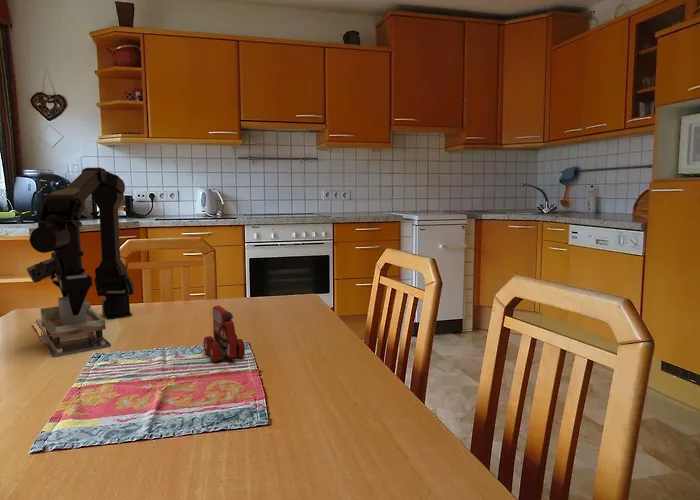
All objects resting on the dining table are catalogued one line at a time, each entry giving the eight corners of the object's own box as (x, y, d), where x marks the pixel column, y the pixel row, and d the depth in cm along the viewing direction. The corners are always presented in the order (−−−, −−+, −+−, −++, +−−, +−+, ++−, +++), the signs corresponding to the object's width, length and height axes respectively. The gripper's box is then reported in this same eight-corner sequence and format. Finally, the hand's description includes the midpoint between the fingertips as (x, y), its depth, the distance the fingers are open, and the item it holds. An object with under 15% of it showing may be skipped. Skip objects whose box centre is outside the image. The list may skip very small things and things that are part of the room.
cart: (91, 325, 137) (89, 302, 136) (106, 339, 125) (104, 313, 124) (42, 332, 130) (40, 308, 130) (53, 348, 118) (51, 321, 117)
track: (80, 318, 150) (80, 313, 150) (110, 346, 124) (110, 340, 124) (31, 325, 143) (31, 320, 143) (52, 357, 117) (52, 351, 116)
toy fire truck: (216, 367, 110) (214, 318, 108) (201, 350, 120) (199, 306, 119) (248, 361, 113) (247, 313, 112) (231, 346, 124) (230, 302, 122)
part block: (82, 318, 130) (81, 294, 129) (87, 323, 126) (85, 298, 125) (59, 322, 127) (57, 297, 126) (63, 326, 123) (61, 301, 122)
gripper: (22, 246, 127) (28, 310, 129) (33, 254, 112) (39, 326, 114) (73, 242, 133) (78, 303, 135) (90, 249, 119) (95, 317, 121)
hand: (72, 312), depth 126 cm, fingers open, 7 cm apart
